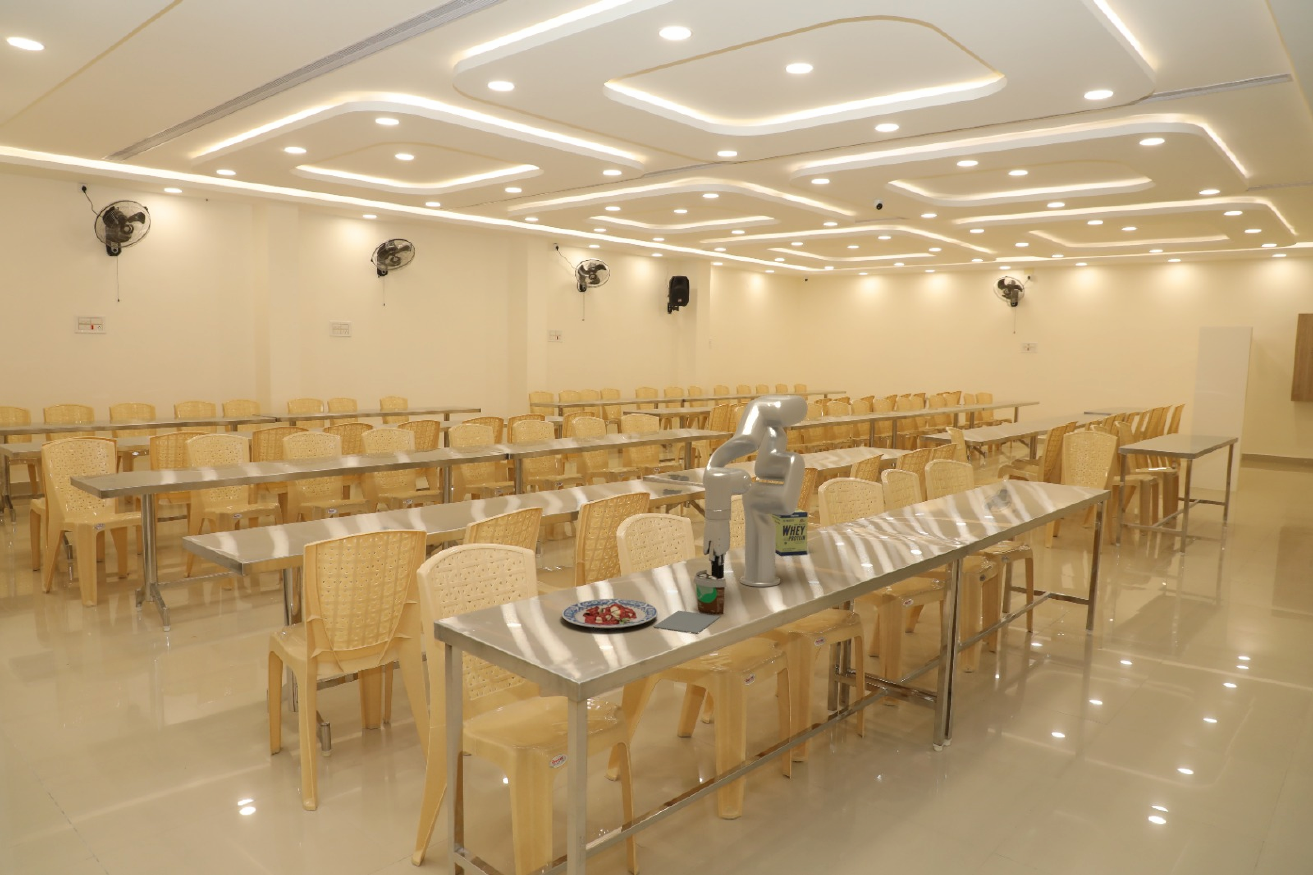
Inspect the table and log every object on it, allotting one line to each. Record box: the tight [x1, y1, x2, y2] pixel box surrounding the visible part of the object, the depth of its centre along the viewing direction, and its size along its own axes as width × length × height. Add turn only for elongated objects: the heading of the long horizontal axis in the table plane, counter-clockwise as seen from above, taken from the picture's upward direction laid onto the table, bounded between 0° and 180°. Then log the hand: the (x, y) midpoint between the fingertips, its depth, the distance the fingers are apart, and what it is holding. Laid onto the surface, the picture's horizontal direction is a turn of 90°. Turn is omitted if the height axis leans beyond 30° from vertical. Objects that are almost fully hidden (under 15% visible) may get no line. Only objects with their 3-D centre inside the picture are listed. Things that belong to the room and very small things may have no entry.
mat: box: [653, 610, 721, 634], centre depth 227 cm, size 16×12×1 cm
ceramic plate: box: [561, 598, 659, 630], centre depth 230 cm, size 26×26×3 cm
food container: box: [693, 569, 727, 615], centre depth 237 cm, size 12×6×10 cm, turn 23°
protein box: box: [770, 507, 808, 557], centre depth 312 cm, size 10×16×16 cm
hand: (717, 577), depth 245 cm, fingers closed
